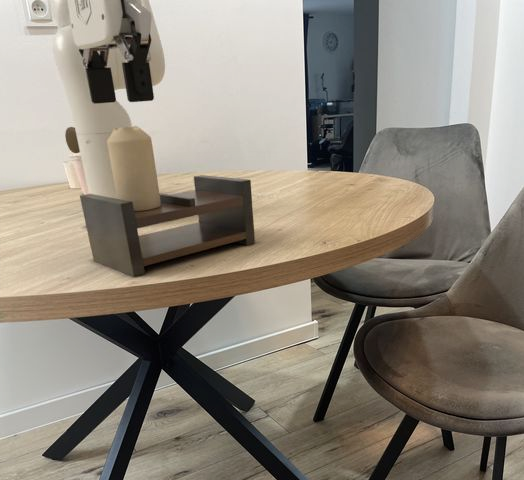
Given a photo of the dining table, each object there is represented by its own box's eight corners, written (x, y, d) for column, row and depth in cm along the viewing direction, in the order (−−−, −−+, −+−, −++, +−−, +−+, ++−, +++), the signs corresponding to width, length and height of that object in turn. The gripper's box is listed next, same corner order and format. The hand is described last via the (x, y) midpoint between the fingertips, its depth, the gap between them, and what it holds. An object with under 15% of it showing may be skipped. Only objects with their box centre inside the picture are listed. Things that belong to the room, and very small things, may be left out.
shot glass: (63, 189, 144) (57, 163, 141) (75, 185, 150) (69, 160, 147) (86, 188, 143) (80, 161, 140) (97, 184, 149) (92, 159, 146)
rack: (93, 260, 72) (79, 195, 69) (208, 232, 84) (201, 174, 80) (134, 277, 64) (120, 203, 60) (255, 243, 75) (250, 179, 71)
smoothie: (84, 191, 136) (72, 135, 130) (107, 190, 135) (96, 133, 129) (73, 196, 131) (60, 137, 124) (97, 195, 130) (85, 135, 124)
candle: (151, 211, 65) (138, 126, 61) (112, 212, 67) (96, 129, 62) (167, 203, 70) (155, 123, 66) (130, 204, 71) (116, 126, 67)
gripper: (30, -59, 59) (65, 105, 67) (94, -102, 47) (127, 103, 55) (91, -52, 63) (117, 101, 71) (164, -91, 51) (185, 98, 59)
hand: (121, 102), depth 63 cm, fingers open, 9 cm apart
